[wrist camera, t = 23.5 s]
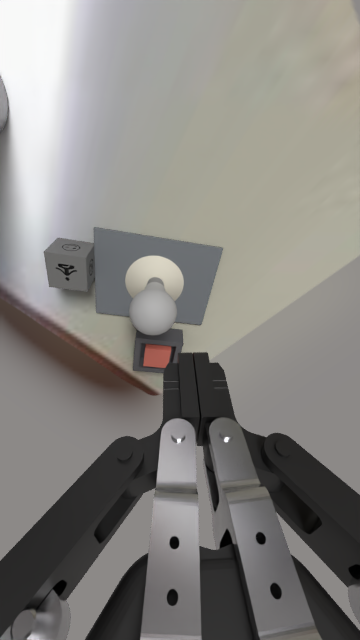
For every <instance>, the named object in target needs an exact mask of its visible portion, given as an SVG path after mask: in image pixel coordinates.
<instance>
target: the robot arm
mask: <svg viewBox="0 0 360 640" xmlns="http://www.w3.org/2000/svg"><path fill="white" fill-rule="evenodd" d="M7 114H8V102H7V95H6V91H5V87H4V84H3V81H2V79H1V76H0V133H1V131H2V130H3V128H4V126H5V123H6V120H7ZM196 441H197V446H203V452H204V459H203V466H204V471H205V477H206V483H207V488H208V493H209V499H210V505H211V510H212V522H213V534H214V540H215V546H216V550H211V549H208V548H204V547H201V546H199V517H198V515H199V513H198V493H197V485H196ZM154 488H156V489H155V494H154V503H153V513H152V524H151V534H150V545H149V553H147V554H145V555H144V556H142V557H141V558H140V559H138V560H137V561H136V562H135V563H134V564H133V565H132V566H131V567H130V568H129V569H128V571H127V572H126V573H125V574H124V576H123V577H122V579H121V581H120V582H119V584H118V585H117V587H116V589H115V590H114V592H113V594H112V595H111V597H110V599H109V600H108V602H107V604H106V605H105V607H104V609H103V610H102V612H101V614H100V615H99V617H98V619H97V620H96V622H95V624H94V625H93V627H92V629H91V630H90V632H89V634H88V635H87V637H86V639H85V640H360V631H359V629H358V628H357V627H356V626H355V625H354V624H353V622H352V621H351V620H350V619H349V618H348V616H347V615H346V614H345V613H344V612H343V611H342V609H341V608H340V607H339V606H338V605H337V604H336V602H335V601H334V600H333V599H332V598H331V597H330V595H329V594H328V593H327V592H326V591H325V589H324V588H323V587H322V586H321V585H320V584H319V582H318V581H317V580H316V579H315V578H314V577H313V575H312V574H311V573H310V572H309V571H308V570H307V569H306V567H305V566H303V564H302V563H301V562H299V561H298V560H297V559H296V558H295V557H294V556H292V555H291V554H290V551H289V548H288V546H287V543H286V540H285V537H284V534H283V532H282V528H281V525H280V522H279V520H278V517H277V514H276V512H277V513H278V514H279V515H280V516H281V517H282V518H283V519H284V521H285V522H286V523H287V524H288V525H289V526H290V527H291V528H292V529H293V530H294V531H295V532H296V533H297V534H298V535H299V536H300V537H301V539H302V540H303V541H304V542H305V543H306V544H307V545H308V546H309V547H310V548H311V549H312V550H313V551H314V552H315V553H316V554H317V555H318V556H319V558H321V560H322V561H323V562H324V563H325V564H326V565H327V566H328V567H329V568H330V569H331V570H332V571H333V572H334V573H335V574H336V575H337V577H338V578H339V579H340V580H341V581H342V582H343V583H344V584H345V585H346V586H347V587H348V597H349V602H350V605H351V608H352V611H353V613H354V615H355V617H356V618H357V620H358V622H359V623H360V495H359V494H358V493H357V492H355V491H354V490H353V489H351V487H349V486H348V485H347V484H346V483H344V482H343V481H342V480H341V479H340V478H338V477H337V476H336V475H335V474H333V473H332V472H331V471H330V470H329V469H328V468H326V467H325V466H324V465H323V464H321V463H320V462H319V461H318V460H317V459H315V458H314V457H313V456H312V455H311V454H309V453H308V452H307V451H306V450H305V449H303V448H302V447H301V446H300V445H299V444H297V443H296V442H295V441H294V440H292V439H291V438H290V437H288V436H286V435H284V434H281V433H273V434H270V435H269V436H268V437H264V436H260V435H256V434H254V433H251V432H248V431H246V430H245V429H244V428H242V427H241V426H240V425H239V424H238V422H237V420H236V418H235V415H234V411H233V407H232V403H231V399H230V394H229V390H228V386H227V382H226V377H225V373H224V370H223V369H222V367H221V366H220V365H219V363H209V357H208V353H207V352H203V353H193V354H192V353H178V361H177V363H168V364H167V366H166V368H165V370H164V373H163V421H162V424H161V426H160V428H159V429H158V430H157V431H156V432H155V433H154V434H152V435H150V436H148V437H145V438H142V439H140V440H137V439H136V438H133V437H130V436H125V437H121V438H118V439H117V440H115V441H114V442H113V443H112V444H111V445H110V446H109V447H108V448H107V449H106V450H105V451H104V452H103V453H102V454H101V456H100V457H98V458H97V460H96V461H95V462H94V463H93V464H92V465H91V466H90V467H89V468H88V469H87V470H86V471H85V472H84V473H83V474H82V475H81V476H80V478H78V480H77V481H76V482H75V483H74V484H73V485H72V486H71V487H70V488H69V489H68V490H67V491H66V492H65V493H64V494H63V495H62V496H61V498H60V499H59V500H58V501H57V502H56V503H55V504H54V505H53V506H52V507H51V508H50V509H49V510H48V511H47V512H46V513H45V514H44V515H43V517H42V518H41V519H40V520H39V521H38V522H37V523H36V524H35V525H34V526H33V527H32V528H31V529H30V530H29V531H28V532H27V533H26V534H25V536H24V537H23V538H22V539H21V540H20V541H19V542H18V543H17V544H16V545H15V546H14V547H13V548H12V549H11V550H10V551H9V552H8V553H7V554H6V556H5V557H4V558H3V559H2V560H1V561H0V640H66V638H67V635H68V631H69V627H70V618H71V616H70V608H69V605H68V603H67V601H66V600H67V598H68V597H69V595H70V594H71V593H72V591H73V590H74V589H75V587H76V586H77V584H78V583H79V582H80V580H81V579H82V578H83V576H84V575H85V573H86V572H87V571H88V569H89V568H90V567H91V565H92V564H93V562H94V561H95V560H96V558H97V557H98V555H99V554H100V553H101V551H102V550H103V549H104V547H105V546H106V544H107V543H108V542H109V540H110V539H111V538H112V536H113V535H114V534H115V532H116V531H117V529H118V528H119V527H120V525H121V524H122V522H123V521H124V519H125V518H126V517H127V516H128V514H129V513H130V511H131V510H132V509H133V507H134V506H135V504H136V503H137V502H138V500H139V499H140V498H141V496H142V495H143V493H145V492H147V491H149V490H152V489H154Z"/></svg>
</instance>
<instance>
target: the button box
mask: <svg viewBox="0 0 360 640" xmlns="http://www.w3.org/2000/svg"><path fill="white" fill-rule="evenodd" d="M146 344H156V345H165V346H171V354H170V358H169V363H177V361H178V353H181V350H182V346H183V332H182V330H179V329H169V330H168V331H166V332H165V333H162V334H160V335H146V334H143V333H142V332H140V331H139V330H137V333H136V340H135V350H134V361H133V370H134V371H145V372H156V373H164V370H165V368H160V367H149V366H143V363H144V354H145V346H146Z"/></svg>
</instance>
